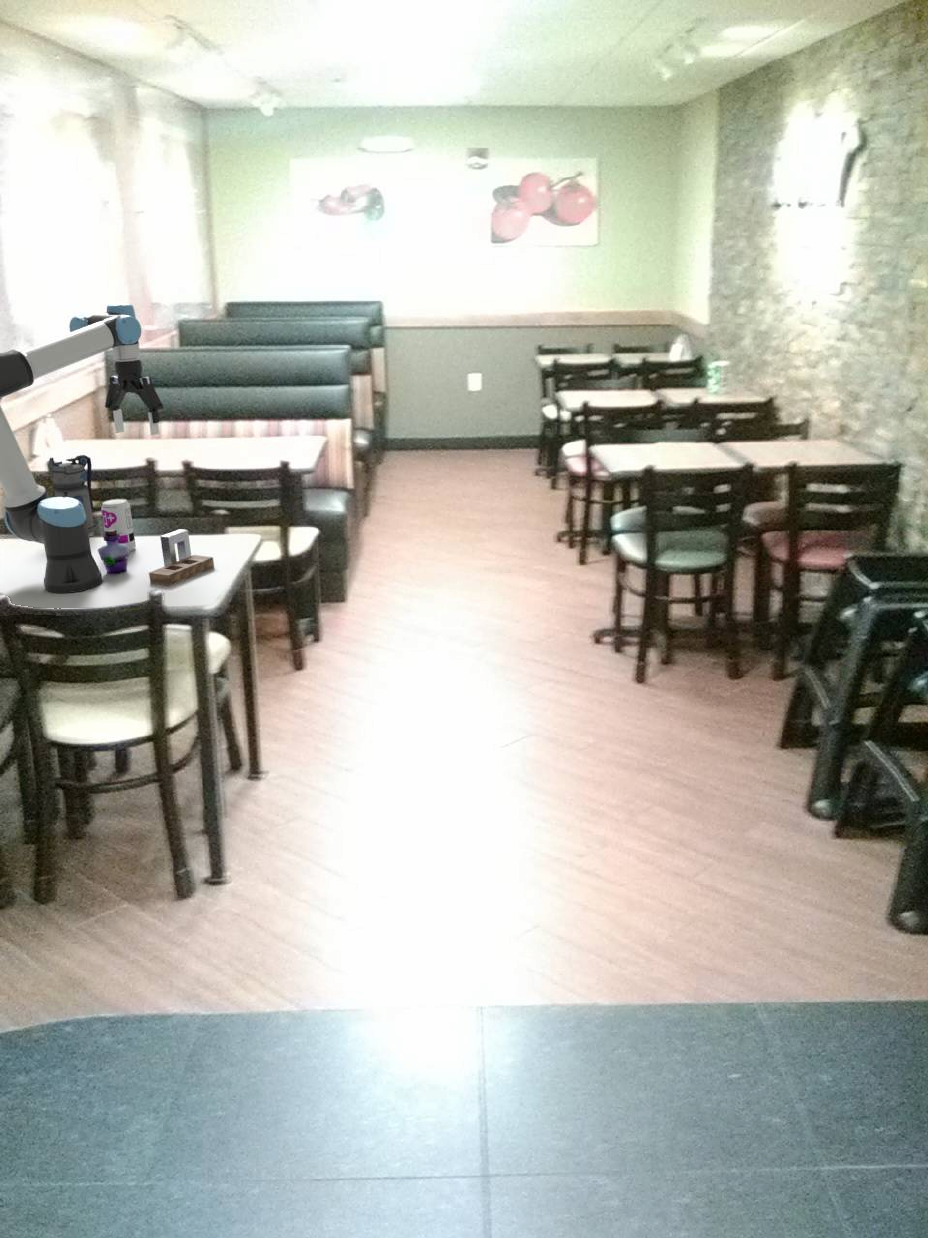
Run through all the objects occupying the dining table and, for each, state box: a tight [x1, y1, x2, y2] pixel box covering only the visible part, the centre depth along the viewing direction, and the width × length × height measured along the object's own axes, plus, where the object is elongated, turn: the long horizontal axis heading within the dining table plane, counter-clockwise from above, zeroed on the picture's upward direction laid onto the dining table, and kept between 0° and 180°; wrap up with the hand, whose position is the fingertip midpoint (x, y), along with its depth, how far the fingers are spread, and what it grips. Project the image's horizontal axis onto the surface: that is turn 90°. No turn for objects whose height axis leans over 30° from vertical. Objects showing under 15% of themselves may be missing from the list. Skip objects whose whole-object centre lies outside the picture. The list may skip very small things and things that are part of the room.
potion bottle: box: [97, 530, 130, 575], centre depth 322 cm, size 9×9×12 cm
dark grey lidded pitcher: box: [47, 454, 97, 534], centre depth 364 cm, size 10×13×25 cm
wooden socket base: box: [148, 554, 215, 587], centre depth 317 cm, size 18×7×3 cm, turn 151°
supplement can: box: [100, 498, 137, 553], centre depth 343 cm, size 8×8×15 cm
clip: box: [159, 528, 192, 567], centre depth 325 cm, size 8×3×10 cm, turn 151°
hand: (137, 433), depth 337 cm, fingers open, 13 cm apart
